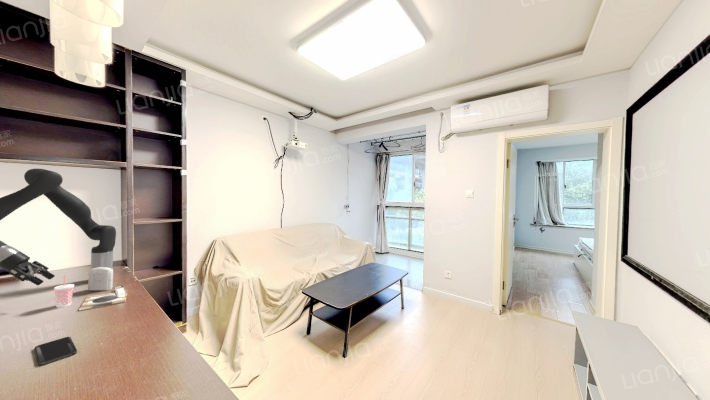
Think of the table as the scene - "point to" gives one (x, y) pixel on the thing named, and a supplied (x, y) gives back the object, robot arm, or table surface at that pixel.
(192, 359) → the table surface
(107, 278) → the photo printer
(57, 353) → the phone
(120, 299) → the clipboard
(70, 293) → the beverage cup
